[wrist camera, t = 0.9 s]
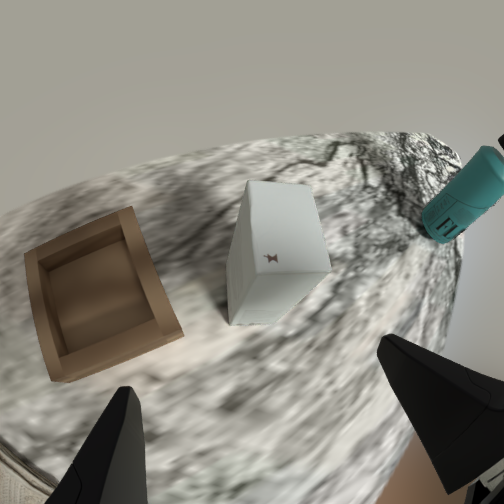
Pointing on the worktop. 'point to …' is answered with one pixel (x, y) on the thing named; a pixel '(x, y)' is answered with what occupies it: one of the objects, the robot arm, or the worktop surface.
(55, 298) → the walnut holder
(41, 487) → the washcloth
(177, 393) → the worktop surface
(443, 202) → the beverage bottle
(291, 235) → the skincare box
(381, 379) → the worktop surface
